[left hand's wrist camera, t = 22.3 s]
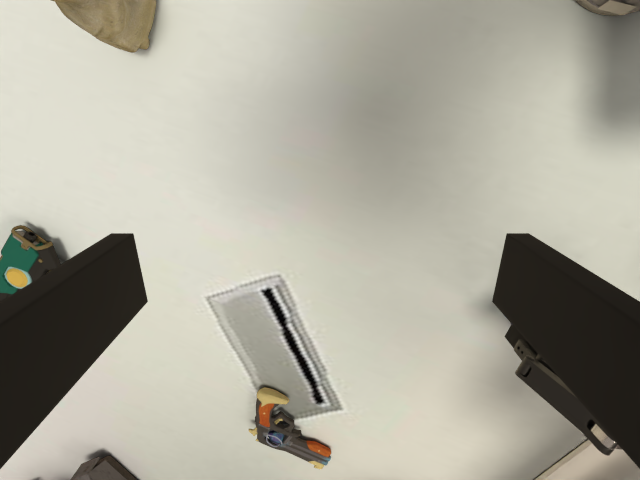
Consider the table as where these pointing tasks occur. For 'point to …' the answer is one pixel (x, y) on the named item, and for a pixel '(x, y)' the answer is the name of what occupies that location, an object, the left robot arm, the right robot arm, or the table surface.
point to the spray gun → (24, 260)
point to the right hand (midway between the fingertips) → (558, 340)
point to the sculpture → (113, 20)
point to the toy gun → (284, 430)
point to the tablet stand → (593, 466)
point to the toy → (102, 470)
